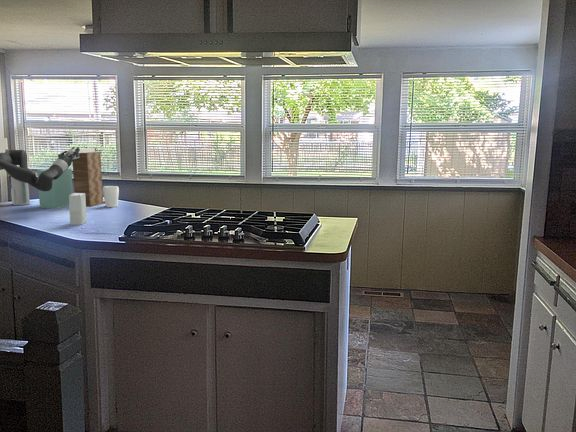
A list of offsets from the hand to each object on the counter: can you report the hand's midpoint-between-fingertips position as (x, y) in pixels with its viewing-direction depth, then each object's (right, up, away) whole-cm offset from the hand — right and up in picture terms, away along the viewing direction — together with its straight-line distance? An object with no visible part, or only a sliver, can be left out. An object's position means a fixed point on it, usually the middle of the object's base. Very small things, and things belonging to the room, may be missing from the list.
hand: (76, 148), depth 306 cm
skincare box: (+21, -44, -48) cm, 68 cm away
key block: (-16, -33, +10) cm, 38 cm away
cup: (+18, -34, +9) cm, 39 cm away
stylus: (+1, -2, +6) cm, 6 cm away
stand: (+2, -33, +15) cm, 36 cm away
